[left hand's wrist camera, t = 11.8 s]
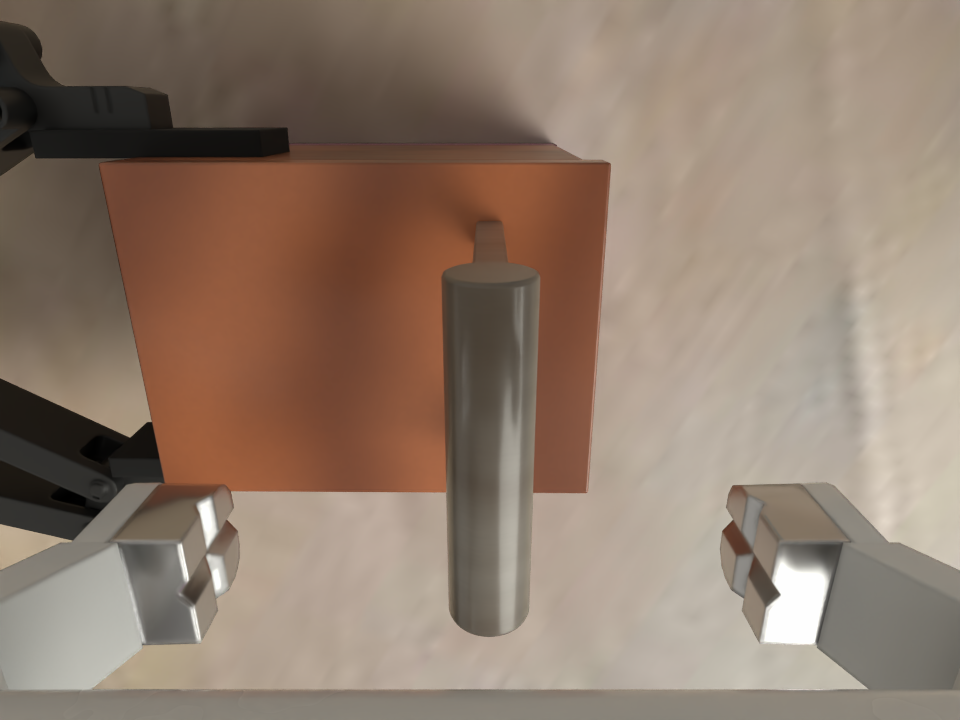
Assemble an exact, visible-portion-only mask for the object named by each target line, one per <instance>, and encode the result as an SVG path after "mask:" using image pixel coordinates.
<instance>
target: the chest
mask: <svg viewBox="0 0 960 720" xmlns="http://www.w3.org/2000/svg"><path fill="white" fill-rule="evenodd" d="M289 149H290V152H286V153H281V154H276V155H271V156H266V157H138V158H131V159H124V160H582V159H580V158H578V157H576V156H574V155H572V154H570V153H568V152H567V151H565V150H563V149H561V148H559V147H557V145H555V144H553V143H448V144H289Z"/></svg>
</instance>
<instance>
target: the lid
mask: <svg viewBox="0 0 960 720" xmlns="http://www.w3.org/2000/svg"><path fill="white" fill-rule="evenodd" d="M99 169H100V174H101V179H102V183H103V188H104V193H105V198H106V203H107V208H108V212H109V217H110V222H111V227H112V232H113V236H114V241H115V246H116V251H117V256H118V260H119V265H120V270H121V275H122V280H123V284H124V289H125V294H126V299H127V304H128V309H129V313H130V318H131V323H132V328H133V333H134V337H135V342H136V347H137V352H138V357H139V361H140V366H141V371H142V376H143V381H144V385H145V390H146V395H147V400H148V405H149V410H150V414H151V419H152V424H153V429H154V434H155V438H156V443H157V448H158V453H159V458H160V462H161V467H162V472H163V477H164V482H165V483H186V484H225V485H226V486H227V487H228V488H229V489H230V491H297V492H446V501H447V545H448V588H449V611H450V614H451V616H452V618H453V620H454V621H455V622H456V624H457V625H458V626H459V627H460V628H462V629H463V630H465V631H467V632H469V633H471V634H474V635H478V636H484V637H495V636H501V635H505V634H507V633H510V632H512V631H514V630H515V629H517V628H518V627H519V626H520V625H521V624H522V623H523V622H524V620H525V619H526V617H527V615H528V612H529V596H530V567H531V537H532V508H533V493H587V492H588V484H589V470H590V456H591V442H592V427H593V413H594V399H595V385H596V371H597V357H598V343H599V328H600V314H601V300H602V286H603V272H604V258H605V243H606V229H607V215H608V201H609V187H610V173H611V164H610V163H608V162H606V161H604V160H115V161H108V162H101V163H99Z"/></svg>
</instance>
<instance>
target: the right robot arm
mask: <svg viewBox="0 0 960 720" xmlns="http://www.w3.org/2000/svg"><path fill="white" fill-rule="evenodd" d="M41 58H42V46H41V43H40V40H39V39H38V37H37V36H36V34H35V33H34V32H33V31H32V30H30V29H29V28H28V27H25V26H22V25H19V24H14V23H8V22H3V21H0V176H1V175H2V174H4V173H5V172H7V171H8V170H10V169H11V168H12V167H14V166H15V165H17V164H18V163H20V162H21V161H22V160H24V159H25V158H27V157H28V156H30V155H31V154H32V153H34V154H35V158H138V157H266V156H271V155H276V154H281V153H286V152H290V149H289V139H288V130H287V128H173V124H172V118H171V112H170V106H169V100H168V95H166V94H164V93H161V92H159V91H156V90H154V89H152V88H144V87H129V86H63V85H61V84H60V83H58V82H57V81H55V80H54V79H53V78H52V77H51V76H50V75H49V73H48V72H47V70H46V69H45V67H44V65H43V63H42V62H41V60H40V59H41ZM133 483H163V484H164V483H165V482H164V477H163V472H162V467H161V462H160V458H159V453H158V448H157V443H156V438H155V434H154V429H153V424H152V422H147V423H146V424H145V425H144V426H143V427H142V428H140V429H139V430H138V431H137V432H136V433H135V434H134V435H133V436H132V437H131V438H129V437H127V436H125V435H123V434H120V433H118V432H116V431H114V430H112V429H110V428H107V427H105V426H103V425H101V424H99V423H96V422H94V421H92V420H90V419H88V418H85V417H83V416H81V415H79V414H77V413H75V412H72V411H70V410H68V409H66V408H64V407H61V406H59V405H57V404H55V403H53V402H51V401H48V400H46V399H44V398H42V397H40V396H37V395H35V394H33V393H31V392H29V391H26V390H24V389H22V388H20V387H18V386H16V385H13V384H11V383H9V382H7V381H5V380H2V379H0V524H3V525H7V526H11V527H16V528H20V529H25V530H29V531H33V532H38V533H42V534H46V535H51V536H55V537H60V538H64V539H68V540H74V539H75V538H76V537H77V536H78V535H79V534H80V533H81V532H82V531H83V530H84V529H85V528H86V527H87V525H88V524H89V523H90V522H91V521H92V520H93V519H94V518H95V517H96V516H97V515H98V514H99V513H100V512H101V511H102V510H103V509H104V508H105V507H106V506H107V505H108V504H109V503H110V502H111V501H112V499H113V498H114V497H115V496H116V495H117V494H118V493H119V492H120V491H121V490H122V489H123V488H124V487H125V486H126V485H128V484H133Z"/></svg>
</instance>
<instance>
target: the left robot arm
mask: <svg viewBox="0 0 960 720" xmlns="http://www.w3.org/2000/svg"><path fill="white" fill-rule="evenodd" d="M233 508H234V506H233V501H232V496H231V491H230V489H229V488H228V487H227V486H226V485H225V484H186V483H164V484H163V483H133V484H128V485H126V486H125V487H124V488H123V489H122V490H121V491H120V492H119V493H118V494H117V495H116V496H115V497H114V498H113V499H112V501H111V502H110V503H109V504H108V505H107V506H106V507H105V508H104V509H103V510H102V511H101V512H100V513H99V514H98V515H97V516H96V517H95V518H94V519H93V520H92V521H91V522H90V523H89V524H88V525H87V527H86V528H85V529H84V530H83V531H82V532H81V533H80V534H79V535H78V536H77V537H76V538H75V539H74V540H73V541H72V542H71V543H59V544H57V545H55V546H52V547H50V548H48V549H46V550H44V551H41V552H39V553H37V554H35V555H33V556H31V557H28V558H26V559H24V560H22V561H20V562H18V563H15V564H13V565H11V566H9V567H7V568H5V569H2V570H0V720H960V570H958V569H955V568H953V567H951V566H949V565H947V564H944V563H942V562H940V561H938V560H936V559H934V558H931V557H929V556H927V555H925V554H923V553H921V552H918V551H916V550H914V549H912V548H910V547H908V546H905V545H903V544H901V543H889V542H888V541H887V540H886V539H885V538H884V537H883V536H882V535H881V534H880V533H879V532H878V531H877V530H876V529H875V528H874V526H873V525H872V524H871V523H870V522H869V521H868V520H867V519H866V518H865V517H864V516H863V515H862V514H861V513H860V512H859V511H858V510H857V509H856V508H855V507H854V506H853V505H852V504H851V502H850V501H849V500H848V499H847V498H846V497H845V496H844V495H843V494H842V493H841V492H840V491H839V490H838V489H837V488H836V487H835V486H834V485H831V484H829V483H827V482H824V483H797V484H764V485H733V486H732V488H731V490H730V492H729V494H728V500H727V505H726V508H727V510H728V512H729V513H730V515H731V517H732V518H733V521H732V522H731V523H730V524H729V525H728V526H727V527H726V528H725V529H724V530H723V531H722V537H721V545H720V554H721V565H722V569H723V572H724V576H725V579H726V581H727V583H728V585H729V587H730V589H731V590H732V591H734V592H735V593H736V594H738V595H739V596H741V597H742V598H744V602H743V608H742V612H743V613H744V615H745V617H746V619H747V621H748V623H749V625H750V627H751V628H752V630H753V632H754V634H755V636H756V638H757V640H758V641H759V643H760V644H796V645H818V646H817V648H818V649H819V650H821V651H822V652H823V653H824V654H826V655H827V656H828V657H829V658H831V659H832V660H833V661H834V662H836V663H837V664H838V665H839V666H841V667H842V668H843V669H844V670H846V671H847V672H848V673H849V674H851V675H852V676H853V677H854V678H856V679H857V680H858V681H859V682H861V683H862V684H863V685H864V686H866V687H867V688H868V689H571V690H278V689H92V688H93V687H95V686H96V685H97V684H98V683H100V682H101V681H102V680H103V679H105V678H106V677H107V676H108V675H110V674H111V673H112V672H113V671H115V670H116V669H117V668H118V667H120V666H121V665H122V664H123V663H125V662H126V661H127V660H128V659H130V658H131V657H132V656H133V655H135V654H136V653H137V652H138V651H140V650H141V649H142V648H143V646H142V645H164V644H199V643H201V642H202V640H203V638H204V636H205V634H206V632H207V630H208V628H209V627H210V625H211V623H212V621H213V619H214V617H215V615H216V613H217V612H218V608H217V602H216V598H218V597H219V596H221V595H222V594H224V593H225V592H226V591H228V590H229V589H230V587H231V585H232V583H233V581H234V579H235V577H236V572H237V568H238V563H239V558H240V543H239V536H238V531H237V530H236V529H235V528H234V527H233V526H232V525H231V524H230V523H229V522H228V521H227V518H228V516H229V515H230V513H231V512H232V510H233Z"/></svg>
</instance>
